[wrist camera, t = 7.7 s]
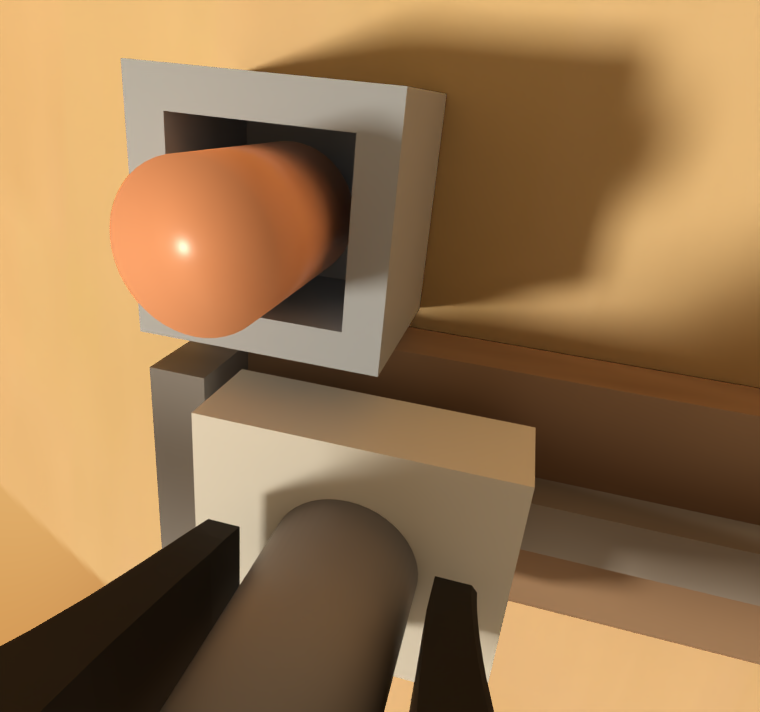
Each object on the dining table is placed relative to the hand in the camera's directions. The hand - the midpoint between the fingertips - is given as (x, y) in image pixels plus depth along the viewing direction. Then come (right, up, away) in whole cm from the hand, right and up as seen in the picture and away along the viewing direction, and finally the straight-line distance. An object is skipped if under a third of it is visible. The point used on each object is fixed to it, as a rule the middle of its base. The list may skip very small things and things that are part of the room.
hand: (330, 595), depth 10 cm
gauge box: (0, +8, +3) cm, 8 cm away
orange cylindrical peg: (-1, +7, +1) cm, 7 cm away
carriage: (+1, +1, +3) cm, 3 cm away
